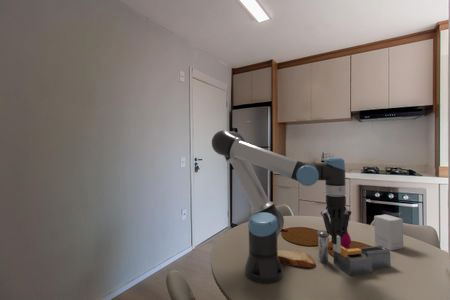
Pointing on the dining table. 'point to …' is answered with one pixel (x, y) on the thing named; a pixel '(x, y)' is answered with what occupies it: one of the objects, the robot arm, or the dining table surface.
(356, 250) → the lock pin
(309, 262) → the bread slice
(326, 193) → the robot arm
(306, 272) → the dining table surface
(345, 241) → the pepper mill
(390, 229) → the supplement box
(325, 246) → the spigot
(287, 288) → the dining table surface
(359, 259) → the dock
